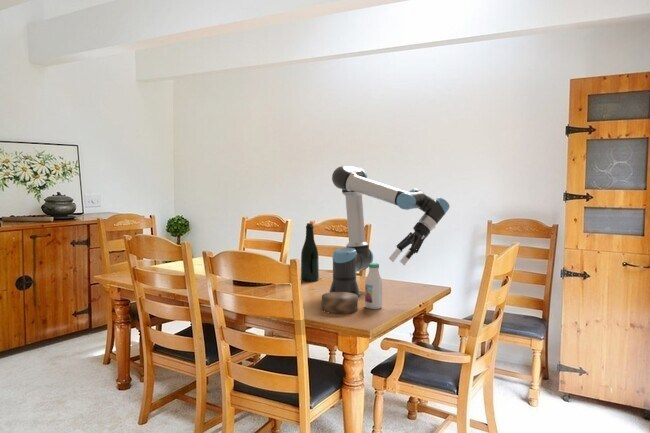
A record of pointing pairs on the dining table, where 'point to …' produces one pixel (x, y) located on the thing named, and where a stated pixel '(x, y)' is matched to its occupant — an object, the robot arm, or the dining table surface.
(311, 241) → the dark green wine bottle
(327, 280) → the dining table surface
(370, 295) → the milk bottle
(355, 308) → the walnut stand
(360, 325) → the dining table surface
